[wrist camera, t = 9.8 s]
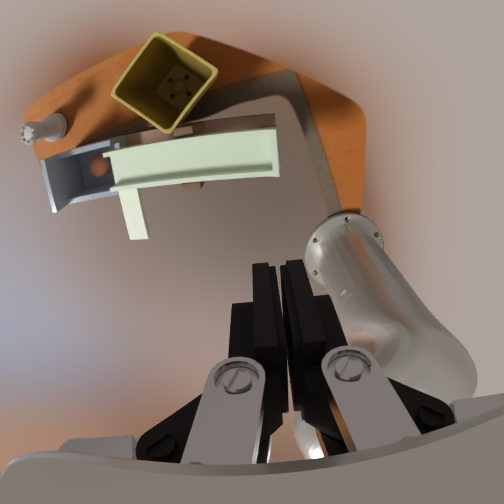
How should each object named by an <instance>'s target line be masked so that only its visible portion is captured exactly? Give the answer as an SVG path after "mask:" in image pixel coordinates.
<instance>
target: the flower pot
mask: <svg viewBox="0 0 504 504" xmlns="http://www.w3.org/2000/svg"><path fill="white" fill-rule="evenodd" d="M187 75H188V76H189V79H185V76H187ZM217 76H218V69H217V68H216V67H215V66H213V65H211V64H210V63H208V62H207V61H205V60H204V59H202V58H201V57H199V56H198V55H196V54H195V53H193V52H191V51H190V50H188V49H187V48H185V47H184V46H182V45H181V44H179V43H177V42H176V41H174V40H173V39H171V38H169V37H168V36H166V35H164V34H163V33H161V32H158V31H157V32H155V33H154V34H153V35H152V36H151V37H150V38H149V40H148V41H147V42H146V43H145V45H144V46H143V47H142V49H141V50H140V51H139V53H138V54H137V55H136V57H135V58H134V59H133V61H132V62H131V64H130V65H129V66H128V68H127V69H126V71H125V72H124V73H123V75H122V76H121V78H120V79H119V81H118V82H117V84H116V85H115V87H114V88H113V90H112V93H111V96H112V97H113V98H115V99H116V100H118V101H119V102H121V103H122V104H124V105H125V106H127V107H128V108H130V109H131V110H133V111H134V112H136V113H137V114H138V115H140V116H141V117H143V118H144V119H146V120H147V121H148V122H150V123H151V124H153V125H154V126H155V127H157V128H158V129H159V130H161V131H162V132H164V133H166V134H171V133H172V132H173V129H175V128H177V127H179V126H180V125H181V124H182V122H183V121H184V120H185V118H186V117H187V115H188V114H189V113H190V111H191V110H192V109H193V107H194V106H195V105H196V104H197V102H198V101H199V100H200V99H201V97H202V96H203V95H204V94H205V92H206V91H207V90H208V89H209V88H210V87H211V85H212V84H213V83H214V82H215V81H216V79H217ZM169 79H172V82H171V83H169V82H168V80H169ZM187 92H191V95H189V96H188V95H187ZM171 95H174V98H173V99H171V98H170V96H171Z"/></svg>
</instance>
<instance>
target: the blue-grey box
mask: <svg viewBox="0 0 504 504" xmlns="http://www.w3.org/2000/svg"><path fill="white" fill-rule="evenodd" d="M126 135H128V134H126ZM126 135H122V136H117V137H113V138H109V139H105V140H101V141H97V142H93V143H90V144H86V145H82V146H79V147H75V148H72V149H70V150H67V151H64V152H61V153H59V154H56V155H53V156H51V157H48V158H46V159H43V160H41V161H40V162H41V166H42V171H43V175H44V180H45V184H46V188H47V192H48V196H49V199H50V203H51V207H52V210H53V213H55V212H58V211H59V210H61V209H62V208H63V207H65V206H66V205H68V204H71V203H77V202H81V201H87V200H91V199H97V198H102V197H107V196H113V195H119V191H115V192H110V187H112V186H114V185H116V184H115V179H114V174H113V169H112V164H111V159H110V156H109V157H106V158H107V159H108V160H109V162H110V170H109V172H108V173H107V174H106V175H105V176H103V177H96V176H94V175H93V174H92V173H91V171H90V163H91V161H92V160H93V159H94V158H95V157H97V156H103V153H105V152H108V151H110V150H114V149H118V148H123V147H127V143H126V137H125V136H126Z"/></svg>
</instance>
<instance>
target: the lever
mask: <svg viewBox="0 0 504 504" xmlns="http://www.w3.org/2000/svg"><path fill="white" fill-rule="evenodd" d="M109 156H110V159H111V164H112V169H113V174H114V179H115V184H116V185H114V186H112V187H110V192H115V191H119V196H120V200H121V204H122V208H123V213H124V217H125V220H126V225H127V229H128V233H129V236H130V240H135V239H148V238H149V237H150V236H151V234H150V230H149V226H148V221H147V217H146V213H145V208H144V203H143V199H142V194H141V190H140V188H144V187H152V186H161V185H169V184H179V183H189V182H199V181H210V180H222V179H235V178H249V177H265V176H273V177H280V172H281V168H280V156H279V143H278V132H277V127H272V128H258V129H246V130H236V131H226V132H217V133H209V134H201V135H193V136H186V137H179V138H173V139H167V140H161V141H155V142H149V143H144V144H138V145H133V146H128V147H123V148H118V149H114V150H110V151H108V152H105V153H103V158H104V157H109Z"/></svg>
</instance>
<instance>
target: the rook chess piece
mask: <svg viewBox="0 0 504 504" xmlns="http://www.w3.org/2000/svg"><path fill="white" fill-rule="evenodd" d="M66 130H67V122H66V119H65V117H64V116H63V115H62V114H60V113H53V114H50V115H48V116H47V117H46V118H45V119H44V120H43V121H42V122H35V123H34V122H32V121H31V122H28V123H27V124H25V126H24V127H22V129H21V131H22V133H21V134H20V137H22V138H23V139H22V140H21V141H22V142H23V143H24V142H25V143H26V144H27V145H33V144H34V143H36V142H37V141H40V140H41V139H45V140H47V141H49V142H55V141H59V140H60V139H62V138H63V137H64V135H65V133H66Z"/></svg>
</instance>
